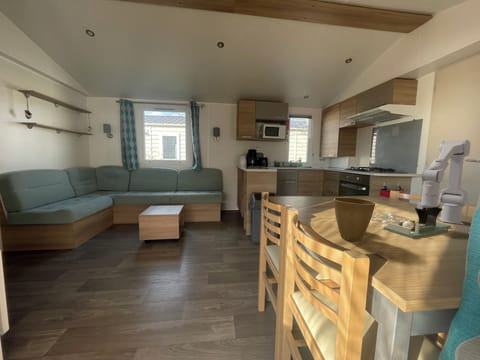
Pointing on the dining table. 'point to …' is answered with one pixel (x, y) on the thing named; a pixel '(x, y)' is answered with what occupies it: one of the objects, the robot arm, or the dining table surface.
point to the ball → (408, 224)
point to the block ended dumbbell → (427, 222)
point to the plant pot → (353, 217)
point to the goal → (402, 228)
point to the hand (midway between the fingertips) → (427, 222)
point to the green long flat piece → (423, 230)
